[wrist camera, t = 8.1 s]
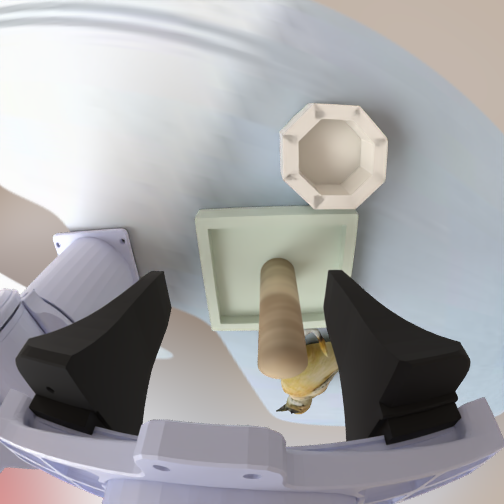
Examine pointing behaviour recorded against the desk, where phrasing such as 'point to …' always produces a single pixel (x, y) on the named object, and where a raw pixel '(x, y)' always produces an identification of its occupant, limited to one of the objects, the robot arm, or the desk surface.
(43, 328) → the robot arm
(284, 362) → the dowel pin
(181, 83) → the desk surface
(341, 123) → the pin cup
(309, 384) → the decorative bird model
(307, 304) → the tray
